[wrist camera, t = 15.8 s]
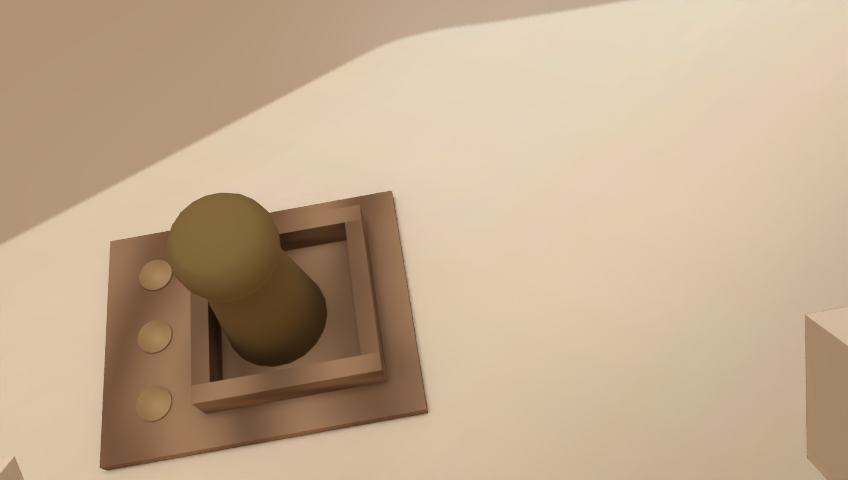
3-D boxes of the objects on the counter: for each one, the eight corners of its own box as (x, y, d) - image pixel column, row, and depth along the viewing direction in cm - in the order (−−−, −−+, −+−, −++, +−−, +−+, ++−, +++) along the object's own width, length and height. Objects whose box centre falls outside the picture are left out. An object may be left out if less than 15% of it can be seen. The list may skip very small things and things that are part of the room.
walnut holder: (393, 197, 47) (386, 172, 44) (427, 412, 40) (422, 398, 38) (116, 247, 47) (93, 225, 44) (106, 470, 40) (79, 460, 38)
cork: (269, 252, 45) (206, 152, 35) (348, 301, 43) (304, 209, 33) (204, 332, 43) (118, 249, 33) (283, 387, 41) (217, 316, 31)
